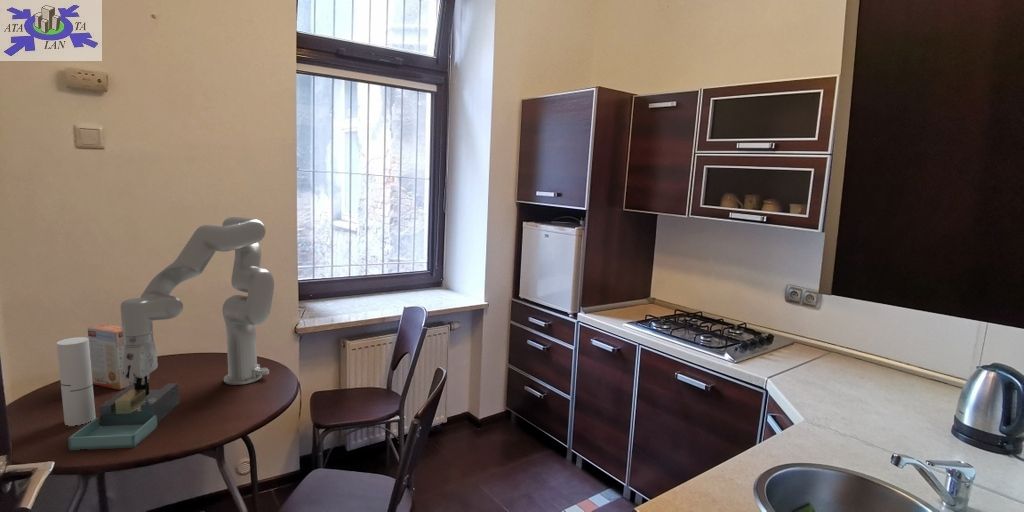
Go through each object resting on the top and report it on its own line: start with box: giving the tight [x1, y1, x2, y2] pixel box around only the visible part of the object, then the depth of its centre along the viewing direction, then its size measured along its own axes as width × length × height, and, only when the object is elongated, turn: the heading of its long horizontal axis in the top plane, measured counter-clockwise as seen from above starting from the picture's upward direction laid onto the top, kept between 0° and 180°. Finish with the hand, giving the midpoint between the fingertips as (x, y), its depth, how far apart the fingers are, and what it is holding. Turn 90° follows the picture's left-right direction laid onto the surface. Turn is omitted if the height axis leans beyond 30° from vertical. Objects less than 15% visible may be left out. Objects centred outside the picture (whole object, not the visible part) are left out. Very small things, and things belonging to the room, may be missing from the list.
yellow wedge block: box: [124, 389, 146, 407], centre depth 154 cm, size 4×4×4 cm
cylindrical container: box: [56, 336, 97, 427], centre depth 152 cm, size 7×7×25 cm
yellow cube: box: [115, 395, 139, 414], centre depth 150 cm, size 4×4×4 cm
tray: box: [67, 416, 158, 451], centre depth 144 cm, size 16×12×4 cm
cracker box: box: [87, 323, 131, 391], centre depth 178 cm, size 14×6×21 cm, turn 71°
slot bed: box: [99, 382, 180, 426], centre depth 157 cm, size 14×16×7 cm
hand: (142, 395), depth 158 cm, fingers closed
